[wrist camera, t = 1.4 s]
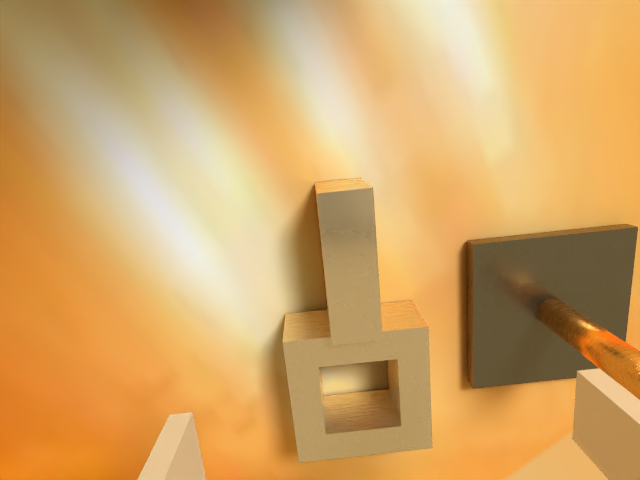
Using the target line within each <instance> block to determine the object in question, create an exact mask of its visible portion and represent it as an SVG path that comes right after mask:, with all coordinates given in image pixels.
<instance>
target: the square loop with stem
mask: <svg viewBox="0 0 640 480" xmlns="http://www.w3.org/2000/svg"><path fill="white" fill-rule="evenodd" d="M315 190H316V200H317V210H318V220H319V229H320V239H321V249H322V259H323V268H324V278H325V288H326V298H327V308H328V309H327V310H317V311H308V312H299V313H289V314H285V323H284V332H283V341H282V343H283V351H284V358H285V365H286V373H287V380H288V387H289V394H290V402H291V409H292V416H293V424H294V431H295V438H296V446H297V453H298V460H299V463H301V462H310V461H319V460H328V459H337V458H347V457H356V456H365V455H374V454H383V453H393V452H402V451H411V450H420V449H429V448H432V423H431V391H430V360H429V329H428V325H427V324H426V322H425V321H424V319H423V317H422V316H421V314H420V313H419V311H418V310H417V308H416V306H415V305H414V303H413V302H412V301H402V302H393V303H384V304H380V288H379V273H378V257H377V242H376V227H375V211H374V196H373V187H371V186H370V185H369V184H368V183H366V182H365V181H364V180H363V179H361V178H355V179H345V180H336V181H326V182H316V183H315ZM384 360H387V363H388V379H389V389H383V390H374V391H365V392H355V393H346V394H337V395H328V396H323V390H322V381H321V372H320V367H328V366H337V365H346V364H356V363H365V362H374V361H384Z"/></svg>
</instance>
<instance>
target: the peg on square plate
mask: <svg viewBox="0 0 640 480" xmlns="http://www.w3.org/2000/svg"><path fill="white" fill-rule="evenodd" d="M637 231H638V227H636V226H632V225H629V224H620V225H611V226H601V227H591V228H582V229H572V230H563V231H553V232H544V233H534V234H525V235H515V236H506V237H496V238H487V239H477V240H468V241H467V263H468V381H469V383H470V384H471V386H472V387H473V389H474V388H483V387H492V386H502V385H511V384H520V383H530V382H539V381H548V380H557V379H567V378H576V377H577V371H580V370H589V369H598V368H599V369H601V370H602V371H603V372H605V373H606V374H607V375H608V376H610V377H611V378H612V379H614V380H615V381H616V382H617V383H619V384H620V385H621V386H623V387H624V388H625V389H626V390H628V391H629V392H630V393H631V394H633V395H634V396H635V397H637V398H638V399H639V400H640V351H638V350H637V349H635V348H633V347H632V346H630V345H629V344H627V343H626V342H625V341H626V332H627V323H628V313H629V304H630V295H631V286H632V277H633V268H634V258H635V249H636V240H637Z"/></svg>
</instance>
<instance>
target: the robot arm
mask: <svg viewBox="0 0 640 480" xmlns="http://www.w3.org/2000/svg"><path fill="white" fill-rule="evenodd" d="M572 439H573V440H574V441H575V442H576V443H577V445H578V446H579V447H580V448H581V449H582V450H583V451H584V453H586V455H587V456H588V457H589V458H590V459H591V460H592V461H593V462H594V464H595V465H596V466H597V467H598V468H599V469H600V471H601V472H603V474H604V475H605V476H606V477H607V478H608V480H640V400H639V399H638V398H637V397H635V396H634V395H633V394H631V393H630V392H629V391H628V390H626V389H625V388H624V387H623V386H621V385H620V384H619V383H617V382H616V381H615V380H614V379H612V378H611V377H610V376H608V375H607V374H606V373H605V372H603V371H602V370H601V369H599V368H598V369H589V370H580V371H577V379H576V394H575V409H574V423H573V438H572ZM138 480H206V476H205V471H204V466H203V461H202V456H201V452H200V447H199V442H198V437H197V432H196V428H195V423H194V418H193V413H192V412H191V413H181V414H172V415H169V417H168V419H167V421H166V423H165V425H164V427H163V429H162V431H161V433H160V435H159V437H158V439H157V441H156V443H155V445H154V447H153V449H152V451H151V454H150V456H149V458H148V460H147V462H146V464H145V466H144V468H143V470H142V472H141V474H140V476H139V478H138Z"/></svg>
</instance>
